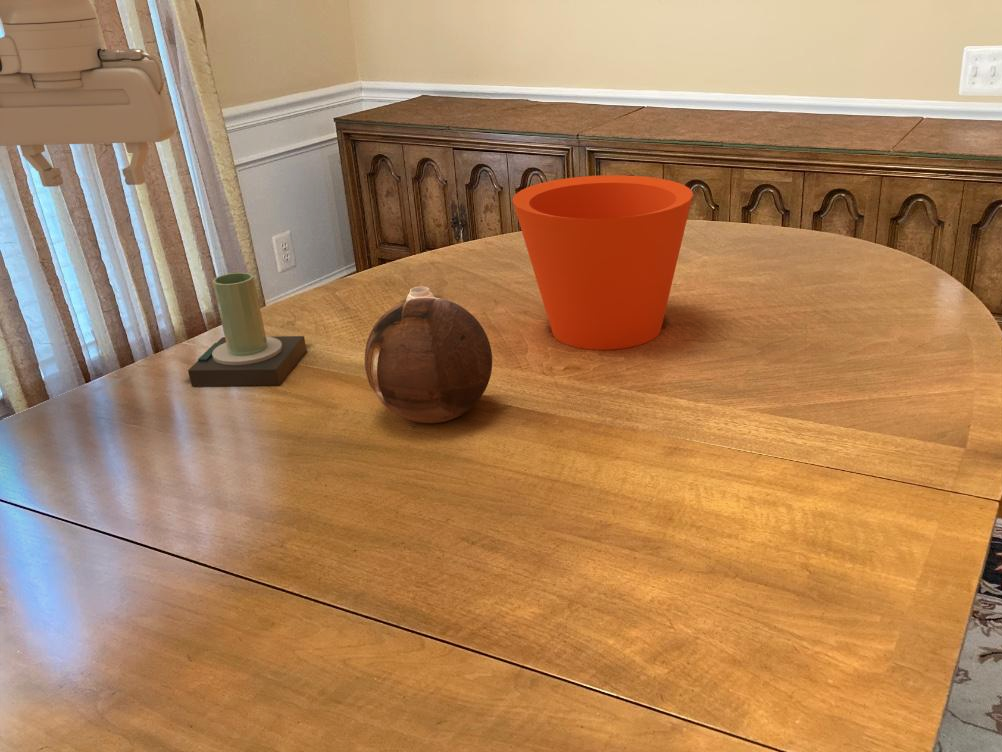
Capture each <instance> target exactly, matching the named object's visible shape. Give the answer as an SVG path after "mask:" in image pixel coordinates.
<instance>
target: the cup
mask: <svg viewBox="0 0 1002 752" xmlns="http://www.w3.org/2000/svg"><path fill="white" fill-rule="evenodd" d="M212 286H213V290H214V296H215V300H216V304H217V308H218V313H219V317H220V322H221V326H222V331H223V335H224V337H225V340H226V344H227V348H228V352H229V353H230V354H232V355H237V356H244V355H252V354H256V353H259V352H261V351H263V350H265V349H266V348H267V346H268V344H267V339H266V337H267V335H266V330H265V326H264V319H263V316H262V311H261V310H262V309H261V306H260V301H259V296H258V291H257V286H256V281H255V276H254V274H252V273H250V272H244V271H242V272H230V273H225V274H221V275H218V276H216V277H214V278H213V279H212Z"/></svg>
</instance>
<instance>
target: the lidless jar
mask: <svg viewBox="0 0 1002 752" xmlns="http://www.w3.org/2000/svg"><path fill="white" fill-rule="evenodd" d="M420 297H435V295H434V294H433V292H432V291H430V287H428V286H414V287H412V288H410V289H409V293H408V294H407V296H406V299H405V301H407V300H410V299H414V298H420Z"/></svg>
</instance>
